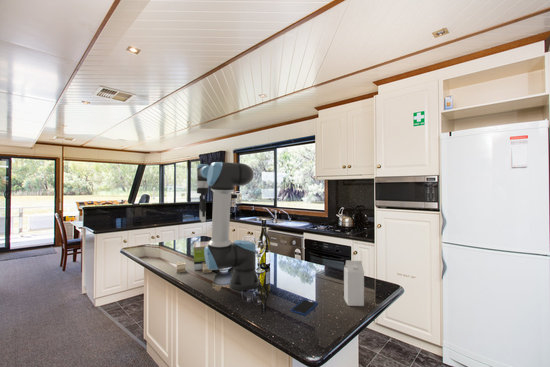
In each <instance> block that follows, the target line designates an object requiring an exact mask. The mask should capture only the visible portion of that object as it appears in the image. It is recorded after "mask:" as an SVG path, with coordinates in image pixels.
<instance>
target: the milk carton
mask: <svg viewBox="0 0 550 367" xmlns="http://www.w3.org/2000/svg"><path fill="white" fill-rule="evenodd" d="M362 262H363V260H345V264H344V266H343V299H344V301H345V304H346V305H347V306H348V307H349V306H350V307H351V306H352V307H364V306H365V271H364V266H363V263H362Z"/></svg>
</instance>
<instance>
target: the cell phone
mask: <svg viewBox="0 0 550 367" xmlns="http://www.w3.org/2000/svg"><path fill="white" fill-rule="evenodd" d="M318 304H319V302H317V301H314V300H311V299H307V298H304V299H302V300H301V301H299V302H298V303H297V304H296V305H295V306H293V307H292V308H291V309H290V311H292V312H291V313H293V312H295V313H294V314H296V313H298V314H297V315H301V316H307V315H308V314H310V313H311V311H312V310H313V309H315V308H316V307H317V306H318ZM290 311H289V312H290Z"/></svg>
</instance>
